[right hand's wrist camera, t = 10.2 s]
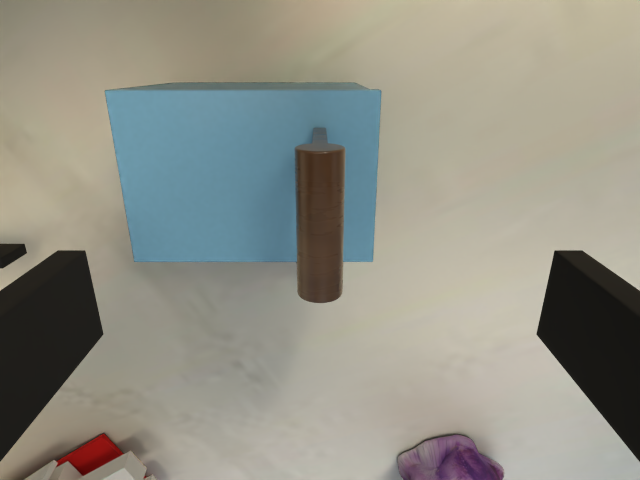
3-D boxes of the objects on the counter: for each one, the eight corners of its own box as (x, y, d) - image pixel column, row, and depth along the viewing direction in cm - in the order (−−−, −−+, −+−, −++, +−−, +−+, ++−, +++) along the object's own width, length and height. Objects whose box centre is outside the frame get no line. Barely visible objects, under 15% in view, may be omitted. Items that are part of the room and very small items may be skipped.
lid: (379, 89, 23) (411, 101, 15) (371, 256, 27) (394, 338, 19) (111, 89, 23) (-1, 101, 15) (139, 256, 27) (61, 339, 19)
